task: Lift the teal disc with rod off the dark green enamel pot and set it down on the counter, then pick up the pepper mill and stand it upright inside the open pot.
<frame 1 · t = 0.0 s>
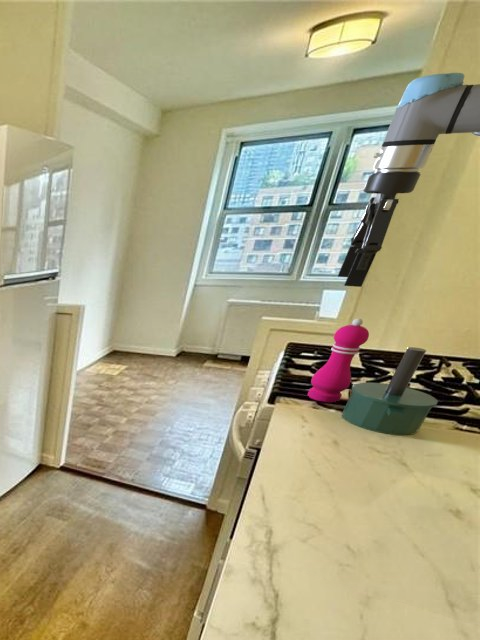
hand: (348, 281, 107), 29 cm above the worktop, tool pointing down, fingers open, 13 cm apart
pepper mill: (322, 398, 122), on the worktop
pot: (378, 422, 109), on the worktop
teal disc with rod: (392, 396, 106), point 6 cm above the worktop, touching pot
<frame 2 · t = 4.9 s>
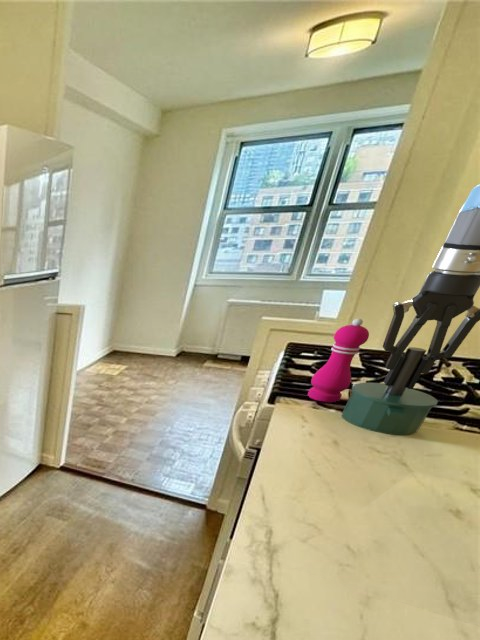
hand: (397, 385, 105), 9 cm above the worktop, tool pointing down, fingers closed on teal disc with rod, 3 cm apart
teal disc with rod: (392, 396, 106), point 6 cm above the worktop, touching gripper, pot
everything else where it was.
when the fingers open (3 cm above the worktop, at t = 11.5 s): teal disc with rod stays where it is, point 1 cm above the worktop.
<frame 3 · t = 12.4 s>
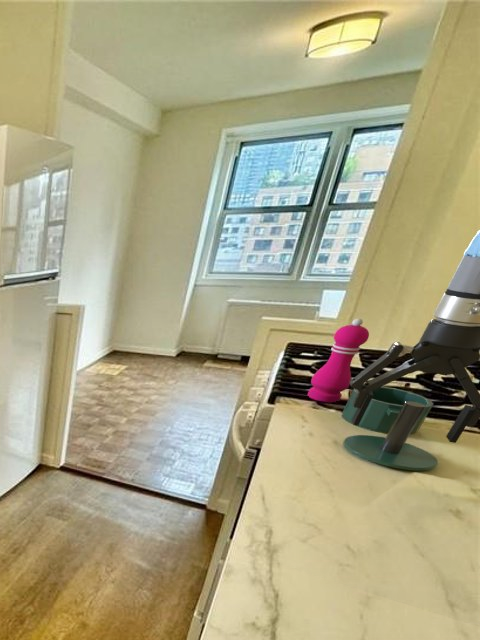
hand: (400, 431, 94), 5 cm above the worktop, tool pointing down, fingers open, 13 cm apart
teal disc with rod: (388, 453, 96), point 1 cm above the worktop
everything else where it was.
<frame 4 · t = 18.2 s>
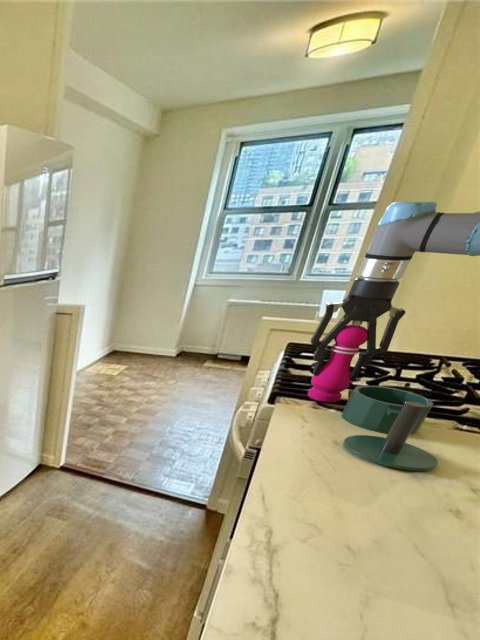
hand: (333, 376, 119), 6 cm above the worktop, tool pointing down, fingers closed on pepper mill, 6 cm apart
pepper mill: (322, 398, 122), on the worktop, touching gripper
everything else where it was.
when the fingers open (6 cm above the worktop, at t = 26.9 s): pepper mill stays where it is, resting on pot.
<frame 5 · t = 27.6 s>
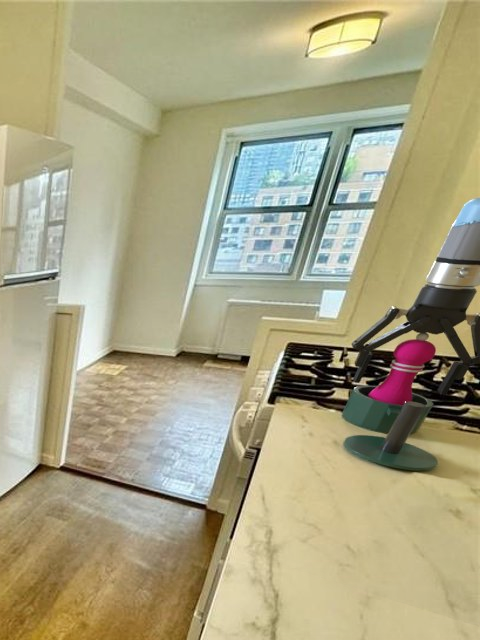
hand: (397, 386, 105), 9 cm above the worktop, tool pointing down, fingers open, 13 cm apart
pepper mill: (378, 420, 110), resting on pot
everything else where it was.
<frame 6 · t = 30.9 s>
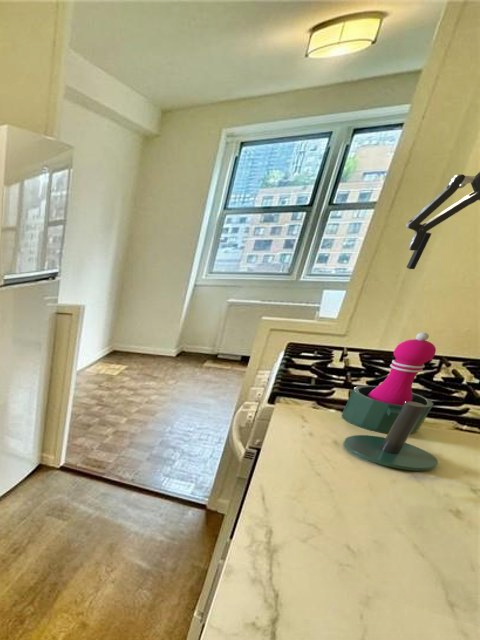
hand: (458, 270, 94), 33 cm above the worktop, tool pointing down, fingers open, 13 cm apart
nothing on the worktop moved.
at the end: teal disc with rod inside the target area (0.1 cm from its centre), point 0.6 cm above the worktop; pepper mill 0.3 cm off-centre in the pot, point 0.3 cm above the pot's base; pepper mill tilted 0° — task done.
